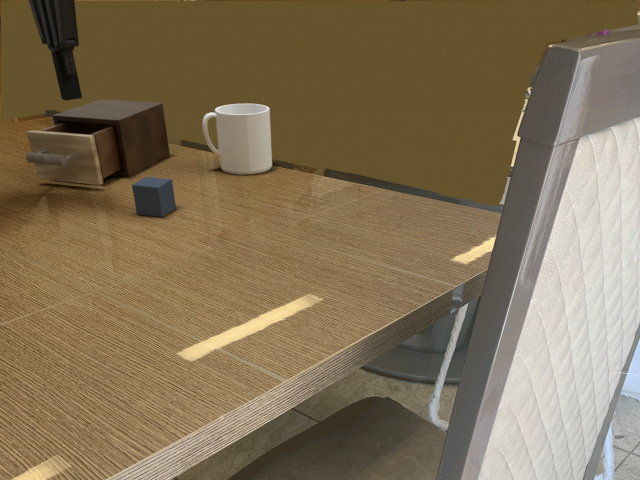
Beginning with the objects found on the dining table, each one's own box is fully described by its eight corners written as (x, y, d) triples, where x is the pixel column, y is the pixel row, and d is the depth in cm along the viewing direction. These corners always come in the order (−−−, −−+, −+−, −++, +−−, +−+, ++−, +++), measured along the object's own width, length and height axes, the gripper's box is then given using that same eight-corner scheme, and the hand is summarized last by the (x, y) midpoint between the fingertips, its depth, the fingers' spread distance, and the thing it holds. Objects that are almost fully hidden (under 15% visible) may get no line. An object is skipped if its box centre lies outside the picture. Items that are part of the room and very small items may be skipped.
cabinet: (129, 177, 119) (118, 120, 113) (65, 171, 122) (52, 115, 116) (170, 155, 131) (162, 102, 125) (110, 150, 134) (101, 99, 128)
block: (136, 214, 102) (131, 184, 100) (151, 205, 106) (146, 176, 103) (162, 217, 101) (157, 187, 99) (176, 208, 105) (172, 179, 102)
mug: (267, 158, 128) (264, 102, 122) (276, 172, 121) (274, 113, 115) (204, 163, 126) (198, 105, 120) (210, 177, 118) (203, 117, 112)
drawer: (83, 193, 108) (72, 143, 103) (20, 187, 111) (6, 138, 106) (142, 163, 123) (135, 118, 118) (85, 158, 126) (76, 114, 121)
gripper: (-17, -94, 88) (31, 96, 102) (23, -99, 80) (68, 108, 95) (35, -93, 92) (74, 90, 106) (78, -97, 84) (114, 100, 99)
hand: (72, 98), depth 100 cm, fingers closed
